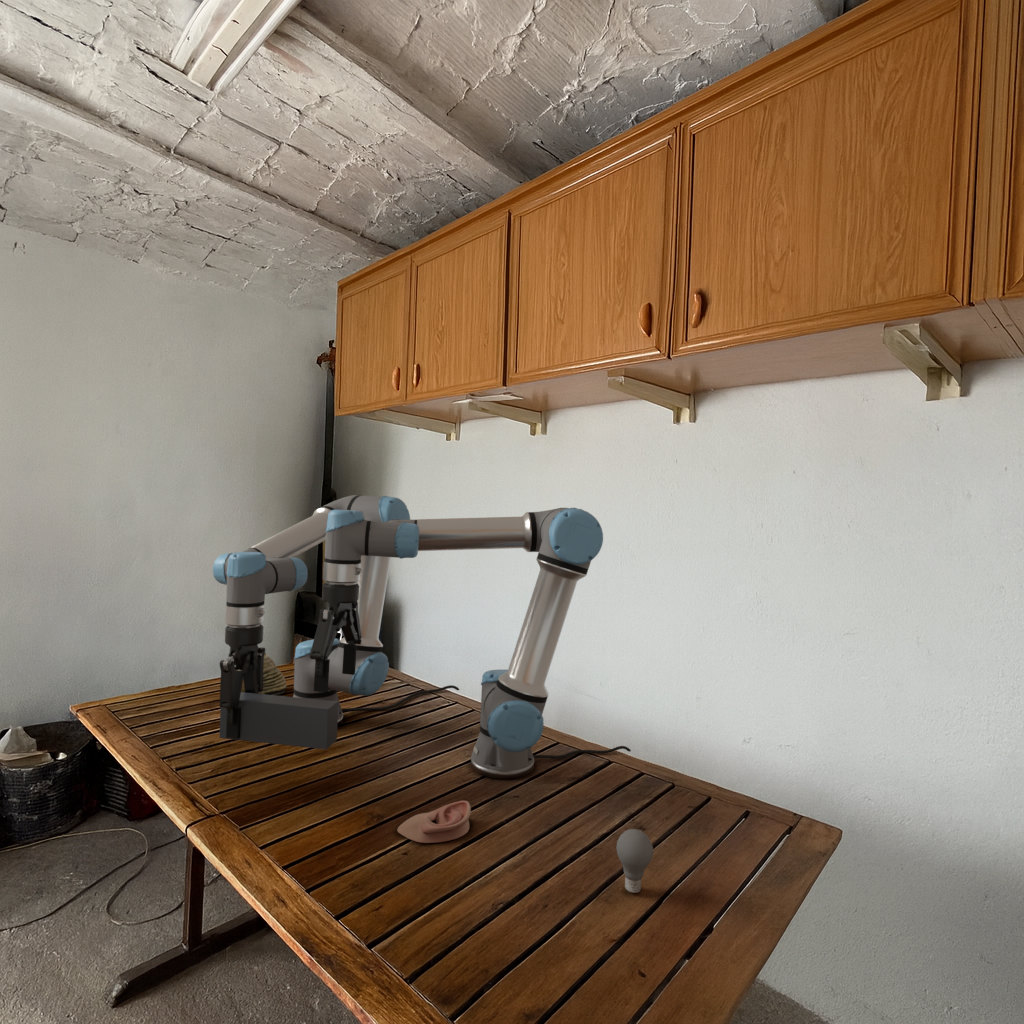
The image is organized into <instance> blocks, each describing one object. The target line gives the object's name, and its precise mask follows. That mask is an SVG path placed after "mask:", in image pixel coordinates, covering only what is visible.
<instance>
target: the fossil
mask: <svg viewBox="0 0 1024 1024" xmlns="http://www.w3.org/2000/svg"><path fill="white" fill-rule="evenodd" d="M257 658H258V657H257ZM237 671H241V670H237ZM287 687H288V686H287V680H286V678H285V676H284V674H283V673H282V672H281V669H279V668H278V667H277V665H276V663H275V662H274V660H273V659H272V658H271V657H270V656H269V655H268V654H267V653H266V652H265V655H264V668H263V691H262V692H259V693H260V694H266V695H276V696H277V695H281V694H284V693H285V691H286V689H287ZM241 692H245V688H244V680H243V683H242V688H241Z"/></svg>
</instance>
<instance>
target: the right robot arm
mask: <svg viewBox="0 0 1024 1024" xmlns="http://www.w3.org/2000/svg"><path fill="white" fill-rule="evenodd" d="M603 542H604V533H603V528H602V525H601V524H600V522H599V520H598V519H597V518H596V517H595V516H594V515H593V514H592V513H590V512H588V511H586V510H584V509H582V508H577V507H558V508H552V509H548V510H542V511H541V510H540V511H526V512H525V513H524V514H523V515H522V516H494V517H493V516H492V517H490V516H489V517H488V516H487V517H457V518H455V517H453V518H421V519H419V518H418V519H410V520H400V519H391V520H389V521H387V522H377V521H368V520H364V514H363V512H362V511H353V510H332V511H330V512H329V514H328V519H327V528H326V540H325V541H324V543H325V544H324V561H323V573H322V580H323V581H324V582H323V584H322V592H321V600H322V601H323V602H326V603H327V604H328V607H327V609H324V608H322V609H320V610H319V616H318V618H319V619H318V624H317V627H316V630H315V634H314V638H313V640H314V641H313V645H312V649H311V653H310V658H311V659H315V676H314V691H318V692H328V680H329V664H330V659H327V658H328V656H329V653H330V650H331V648H332V645H333V642H334V639H335V638H336V637H337V634H338V633H339V632H342V636H343V638H345V640H346V643H348V644H344V653H343V669H342V674H350V675H354V674H355V667H356V650H357V645H356V644H361V642H362V640H361V638H362V634H361V628H360V621H359V615H358V602H357V601H358V599H359V584H357V582H358V581H359V580H360V573H361V572H362V569H361V568H360V565H361V556H362V555H364V556H381V557H391V558H398V559H401V560H402V559H414V558H416V557H418V554H419V552H430V551H431V552H433V551H467V550H471V551H472V550H501V549H502V550H503V549H504V550H506V549H508V550H509V549H523V550H524V551H526V552H527V553H537V556H536V562H537V564H538V566H539V569H540V570H539V572H538V575H537V579H536V581H535V584H534V588H533V590H532V594H531V597H530V600H529V604H528V607H527V610H526V613H525V616H524V619H523V623H522V625H521V628H520V632H519V635H518V638H517V640H516V644H515V647H514V650H513V653H512V656H511V659H510V663H509V666H508V669H491V670H487V671H485V672H484V673H483V674H482V677H481V682H480V685H481V698H480V715H479V716H480V717H479V720H480V721H479V733H478V736H477V739H476V742H475V745H474V746H473V750H472V753H471V756H470V767H471V769H472V770H473V771H474V772H476V773H477V774H479V775H481V776H484V777H487V778H491V779H498V780H499V779H500V780H501V779H502V780H512V779H518V778H522V777H524V776H527V775H529V774H531V773H532V772H533V770H534V769H535V759H552V760H553V759H554V760H555V759H557V760H558V759H563V758H567V757H570V756H572V755H575V754H585V753H586V754H610V753H613V752H615V751H618V750H625V751H627V752H629V753H630V752H632V750H631V749H630V748H629V747H628V746H625V745H619V746H616V747H613V748H610V749H605V750H600V749H599V750H598V749H597V750H596V749H594V750H593V749H576V750H572V751H569V752H568V753H564V754H559V755H553V754H551V755H549V754H533V750H532V748H533V747H534V746H535V745H536V744H537V743H538V742H539V740H540V739H541V737H542V736H543V731H544V720H545V719H544V717H543V714H544V710H545V706H546V704H547V701H548V697H549V691H548V689H547V686H546V680H547V677H548V675H549V672H550V668H551V665H552V662H553V659H554V656H555V652H556V650H557V646H558V644H559V643H558V642H559V640H560V636H561V634H562V631H563V628H564V624H565V621H566V617H567V615H568V612H569V609H570V605H571V602H572V599H573V596H574V593H575V590H576V587H577V584H578V581H580V580H581V579H583V578H585V577H587V575H588V571H589V568H590V566H591V562H592V561H593V560H594V559H595V558H596V557H597V556H598V555H599V553H600V552H601V549H602V547H603V544H604V543H603ZM356 633H357V634H356Z"/></svg>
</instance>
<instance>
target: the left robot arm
mask: <svg viewBox="0 0 1024 1024" xmlns="http://www.w3.org/2000/svg"><path fill="white" fill-rule="evenodd" d="M332 510H353V511H362V512H363V514H364V520H368V521H377V522H387V521H389V520H391V519H400V520H411V515H410V510H409V509H408V507H407V505H406V503H405V502H404V501H403V500H402V499H400V497H399V498H398V497H394V496H387V495H360V494H351V495H348V496H344V497H341V498H338V499H336V500H333V501H331V502H329V503H327V504H325V505H322V506H321V507H319V508H317V509H315V510H314V511H313V513H312V515H310V516H309V517H307V518H305V519H303V520H301V521H299V522H297V523H295V524H293V525H291V526H289V527H287V528H286V529H283V530H282V531H280V532H278V533H276V534H274V535H272V536H270V537H267V538H266V539H263V540H262V541H260V542H258V543H256V544H254V545H252V546H250V547H248V548H247V549H244V550H242V551H237V552H230V553H227V552H226V553H222V554H220V555H219V556H217V558H215V560H214V562H213V565H212V575H213V578H214V580H215V581H216V582H218V583H219V584H221V585H225V586H226V602H225V603H226V605H225V618H224V620H225V621H224V624H225V625H226V627H225V628H224V629H225V630H224V643H225V644H226V645H228V647H229V652H228V657H227V658H226V659H221V660H220V661H219V668H220V682H219V683H220V685H219V686H220V687H219V708H220V707H222V708H226V709H227V716H226V722H227V724H226V738H233V739H232V740H234V739H239V738H240V722H241V707H238V706H239V700H240V694H241V688H242V683H243V680H244V688H245V693H255V694H260V693H259V692H262V691H263V668H264V655H265V653H266V647H262V646H259V645H260V644H262V642H263V641H264V626H263V623H264V618H265V617H264V616H265V612H266V611H265V598H266V595H269V594H277V593H283V592H291V591H295V590H299V589H301V588H302V587H303V586H304V585H306V583H307V581H308V576H309V575H308V567H307V565H306V564H305V562H304V561H303V560H302V559H301V558H299V557H298V556H300V555H302V554H304V553H306V552H307V551H309V550H310V549H313V548H314V547H317V546H318V545H319V544H321V543H323V542H325V540H326V528H327V519H328V514H329V512H330V511H332ZM391 558H392V557H381V556H364V555H362V556H361V565H360V568H361V569H362V572H361V573H360V580H359V581H358V582H357V584H359V599H358V601H357V602H358V615H359V621H360V628H361V634H362V638H361V640H362V642H361V644H356V645H357V650H356V667H355V674H354V675H350V674H342V669H343V653H344V644H348V643H346V640H345V638H344V637H343V638H341V639H340V640H339V638H336V637H335V639H334V642H333V645H332V648H331V650H330V653H329V656H328V658H327V659H330V664H329V680H328V692H318V691H314V676H315V659H311V658H310V653H311V649H312V645H313V641H314V639H307V640H304V641H302V642H299V643H298V644H297V645H296V647H295V652H294V653H295V654H294V657H293V662H294V663H293V665H294V666H293V695H292V697H297V698H307V699H318V700H328V701H338V722H337V727H339V726H340V725H342V723H343V722H344V713H346V712H367V711H384V710H389V709H393V708H396V707H398V706H399V705H401V704H403V703H404V702H406V701H408V700H410V699H412V698H413V697H416V696H419V695H423V694H424V695H425V694H431V693H437V692H441V691H444V690H447V689H454V690H456V691H460V688H459V687H458V686H456V685H452V684H451V685H446V686H443V687H439V688H434V689H429V690H428V689H426V690H421V691H417V692H414V693H411V694H408V695H407V696H406V697H404V698H402V699H400V700H399V701H397V702H395V703H393V704H390V705H385V706H375V707H374V706H373V707H348V708H342V706H341V702H340V699H339V695H338V692H342V693H347V694H351V695H353V696H362V697H369V696H372V695H374V694H376V693H377V692H378V691H379V690H380V688H381V687H382V686H383V685H384V683H385V681H386V679H387V677H388V673H389V668H390V661H389V658H388V656H387V655H386V654H385V653H384V652H383V650H384V649H383V648H384V644H383V643H382V641H381V640H380V638H379V636H380V631H381V624H382V617H383V610H384V605H385V604H384V603H385V597H386V591H387V585H388V579H389V574H390V573H389V572H390V566H391ZM356 634H357V633H356ZM257 657H258V658H257ZM237 670H241V671H237ZM343 712H344V713H343Z"/></svg>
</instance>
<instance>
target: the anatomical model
mask: <svg viewBox="0 0 1024 1024" xmlns="http://www.w3.org/2000/svg"><path fill="white" fill-rule="evenodd" d="M471 813H472V808H471V804H470V802H469V801H468V800H459V801H454V802H451V803H449V804H446V805H442V806H441V807H439V808H436V809H434V810H432V811H429V812H421V813H417V814H415V815H413V816H411V817H409V818H407V819H406V820H405V821H403V822H402V823H401V824H400V825H399V826H398V827H397V829H396V830H397V833H398V834H400V835H401V836H403V837H404V838H406V839H408V840H410V841H414V842H416V843H419V844H434V843H443V842H448V841H452V840H456V839H459V838H461V837H463V836H465V835H466V834H467V833H469V830H470V821H469V819H470V817H471Z"/></svg>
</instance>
